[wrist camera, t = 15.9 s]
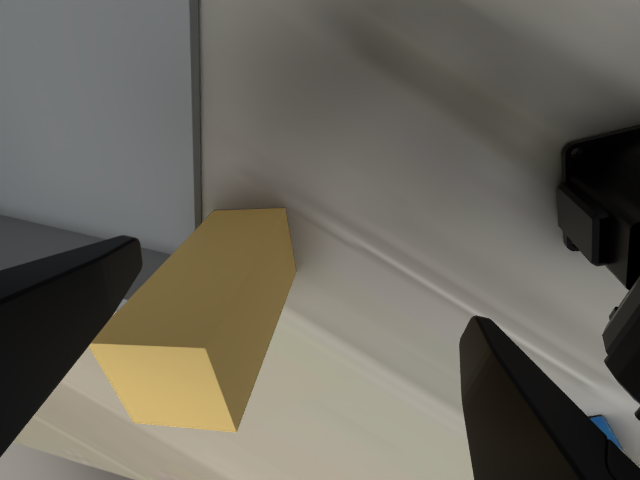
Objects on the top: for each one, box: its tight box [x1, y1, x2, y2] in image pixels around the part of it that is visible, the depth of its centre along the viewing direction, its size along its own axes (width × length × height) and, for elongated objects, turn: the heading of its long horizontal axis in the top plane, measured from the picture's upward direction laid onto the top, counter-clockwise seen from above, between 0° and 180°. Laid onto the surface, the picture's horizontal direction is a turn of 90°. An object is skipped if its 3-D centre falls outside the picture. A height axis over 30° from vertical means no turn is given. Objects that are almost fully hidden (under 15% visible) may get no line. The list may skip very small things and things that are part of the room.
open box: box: [0, 0, 202, 312], centre depth 18 cm, size 17×24×6 cm
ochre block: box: [89, 208, 296, 432], centre depth 20 cm, size 5×5×12 cm
